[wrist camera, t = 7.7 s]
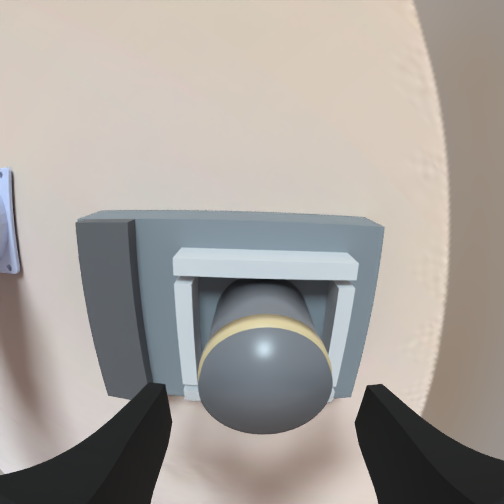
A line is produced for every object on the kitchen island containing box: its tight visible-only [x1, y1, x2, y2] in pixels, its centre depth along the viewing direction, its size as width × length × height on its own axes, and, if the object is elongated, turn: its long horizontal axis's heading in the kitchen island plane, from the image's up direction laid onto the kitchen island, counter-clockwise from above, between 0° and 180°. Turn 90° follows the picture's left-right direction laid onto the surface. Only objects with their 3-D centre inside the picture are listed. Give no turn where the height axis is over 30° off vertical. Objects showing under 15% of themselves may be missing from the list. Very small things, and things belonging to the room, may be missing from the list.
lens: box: [198, 278, 333, 434], centre depth 13 cm, size 5×5×6 cm
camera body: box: [76, 210, 384, 402], centre depth 17 cm, size 16×11×5 cm
